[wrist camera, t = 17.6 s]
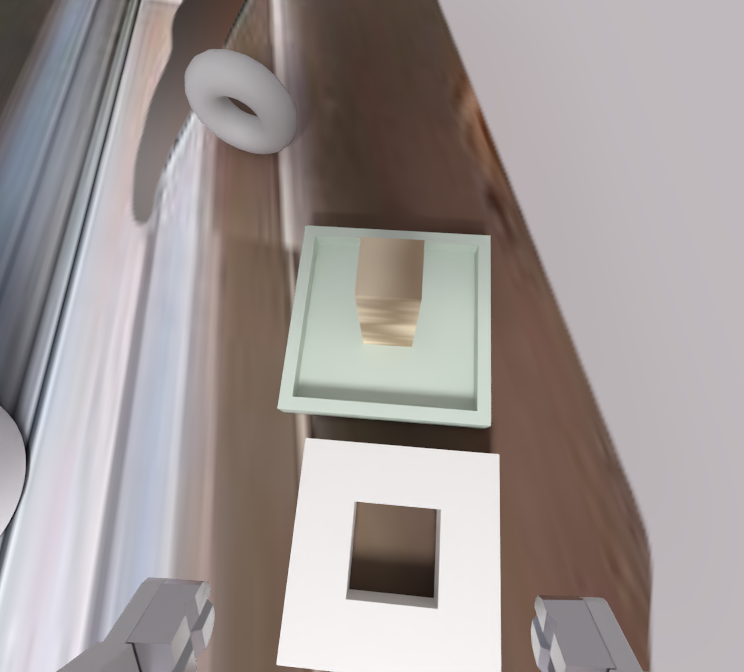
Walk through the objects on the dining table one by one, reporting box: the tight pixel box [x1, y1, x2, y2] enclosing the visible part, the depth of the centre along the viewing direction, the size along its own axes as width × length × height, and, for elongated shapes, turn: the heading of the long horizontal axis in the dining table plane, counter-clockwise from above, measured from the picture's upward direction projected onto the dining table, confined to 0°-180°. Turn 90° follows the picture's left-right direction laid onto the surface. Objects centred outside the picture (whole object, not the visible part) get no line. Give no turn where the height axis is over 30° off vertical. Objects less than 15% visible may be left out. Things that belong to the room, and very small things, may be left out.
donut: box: [185, 49, 297, 154], centre depth 37 cm, size 10×3×10 cm, turn 75°
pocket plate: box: [277, 438, 501, 672], centre depth 29 cm, size 14×14×2 cm
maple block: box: [355, 237, 425, 347], centre depth 30 cm, size 4×4×10 cm
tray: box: [277, 225, 491, 429], centre depth 35 cm, size 16×16×2 cm
